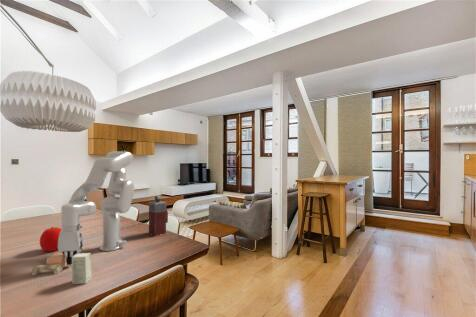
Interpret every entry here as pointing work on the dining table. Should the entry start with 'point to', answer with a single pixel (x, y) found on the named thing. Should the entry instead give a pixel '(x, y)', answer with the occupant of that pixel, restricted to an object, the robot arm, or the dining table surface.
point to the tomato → (50, 239)
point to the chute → (47, 268)
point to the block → (57, 260)
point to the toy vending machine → (157, 217)
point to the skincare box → (81, 268)
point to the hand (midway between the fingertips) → (70, 263)
